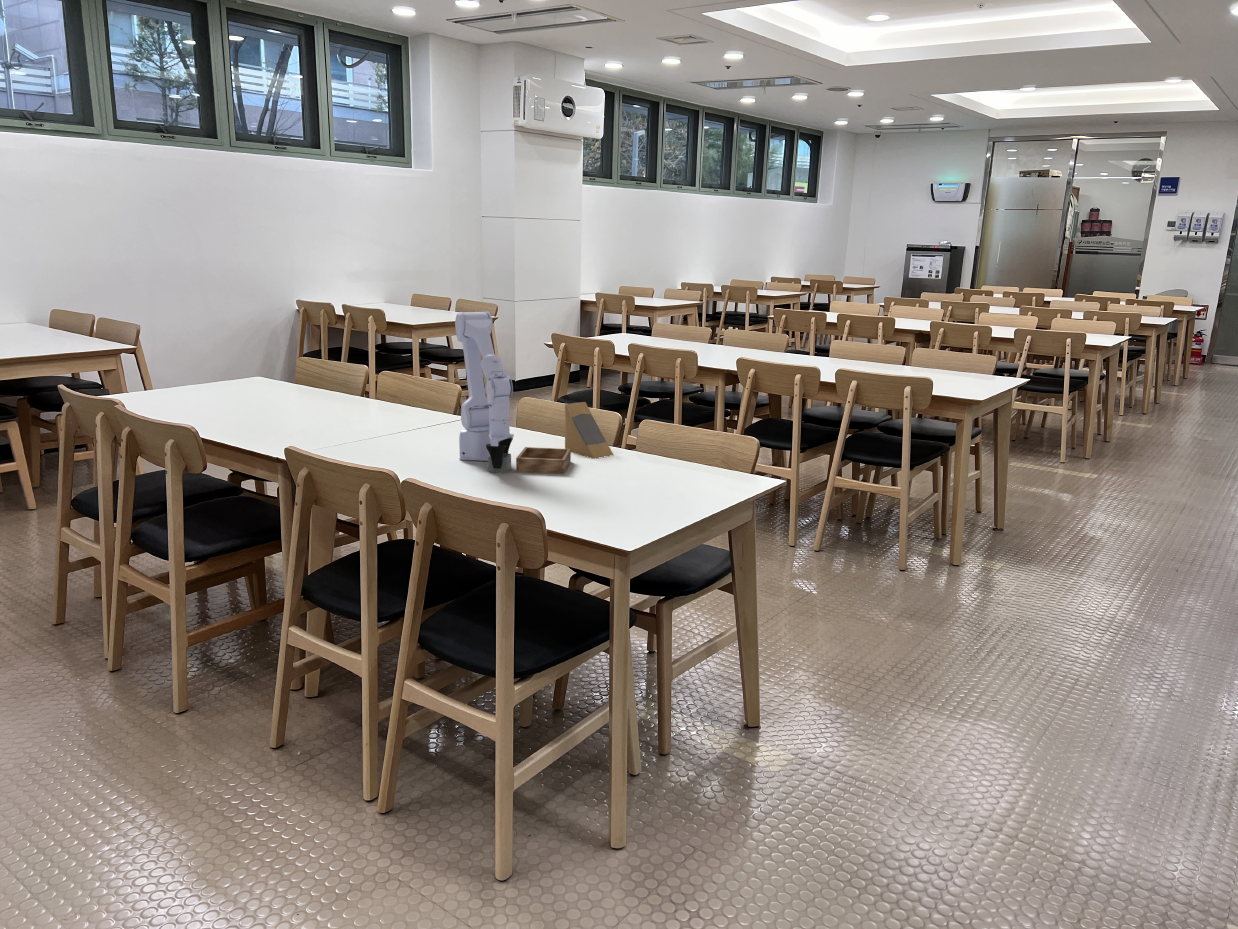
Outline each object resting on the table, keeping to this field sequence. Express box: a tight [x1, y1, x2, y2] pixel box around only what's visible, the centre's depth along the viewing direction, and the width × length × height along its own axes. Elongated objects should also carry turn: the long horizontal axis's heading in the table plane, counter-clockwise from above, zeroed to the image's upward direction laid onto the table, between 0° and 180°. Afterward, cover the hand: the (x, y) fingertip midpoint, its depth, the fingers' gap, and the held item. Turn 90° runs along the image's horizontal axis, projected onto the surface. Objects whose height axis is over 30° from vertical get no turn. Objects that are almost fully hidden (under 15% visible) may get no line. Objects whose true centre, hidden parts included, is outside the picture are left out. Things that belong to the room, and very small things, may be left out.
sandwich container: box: [564, 401, 615, 460], centre depth 275 cm, size 9×15×15 cm, turn 41°
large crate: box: [515, 446, 572, 475], centre depth 258 cm, size 14×14×4 cm
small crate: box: [487, 452, 512, 474], centre depth 253 cm, size 6×6×4 cm
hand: (499, 465), depth 253 cm, fingers open, 7 cm apart
